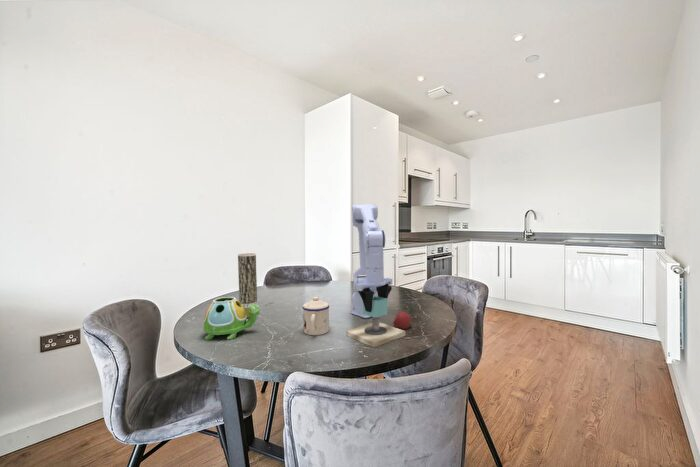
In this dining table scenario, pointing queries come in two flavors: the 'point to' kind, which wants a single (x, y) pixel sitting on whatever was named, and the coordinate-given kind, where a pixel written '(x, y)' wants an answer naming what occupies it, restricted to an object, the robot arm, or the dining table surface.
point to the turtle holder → (228, 317)
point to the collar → (377, 307)
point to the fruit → (402, 320)
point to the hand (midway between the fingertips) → (375, 309)
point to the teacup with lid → (316, 317)
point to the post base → (375, 333)
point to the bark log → (247, 280)
